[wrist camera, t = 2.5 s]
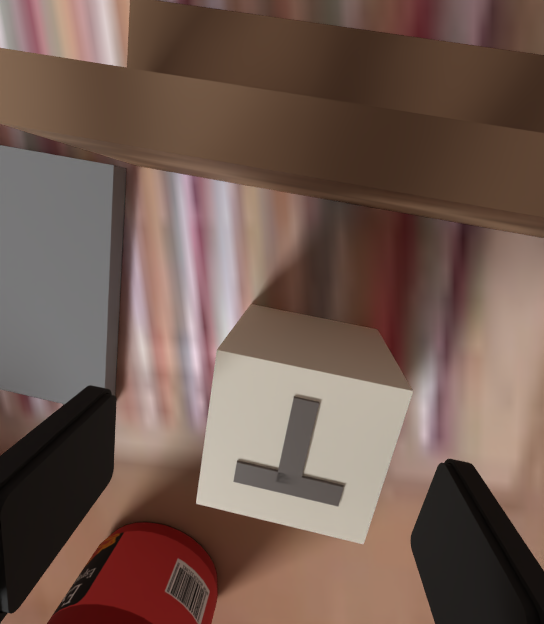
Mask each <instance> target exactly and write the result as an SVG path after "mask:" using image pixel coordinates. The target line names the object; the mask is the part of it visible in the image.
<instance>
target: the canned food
mask: <svg viewBox="0 0 544 624" xmlns="http://www.w3.org/2000/svg"><path fill="white" fill-rule="evenodd" d="M217 596H218V591H217V572H216V569H215V567H214V564H213V562H212V560H211V558H210V557H209V555H208V554H207V552H206V551H205V550H204V549H203V548H202V547H201V546H200V545H199V544H198V543H197V542H196V541H195V540H193V539H192V538H191V537H189V536H188V535H186V534H184V533H183V532H181V531H179V530H177V529H174V528H172V527H169V526H166V525H162V524H157V523H148V522H143V523H133V524H129V525H125V526H123V527H121V528H119V529H117V530H116V531H115V532H114V533H112V534H111V535H110V536H109V537H108V538H107V539H106V540H104V541H103V542H102V543H101V544H100V545H99V547H98V548H97V549H96V551H95V552H94V554H93V555H92V557H91V558H90V560H89V561H88V563H87V564H86V566H85V567H84V569H83V570H82V572H81V573H80V575H79V576H78V578H77V579H76V581H75V582H74V584H73V585H72V587H71V588H70V590H69V591H68V593H67V594H66V596H65V597H64V599H63V600H62V602H61V603H60V605H59V606H58V608H57V609H56V611H55V612H54V614H53V615H52V617H51V618H50V620H49V621H48V623H47V624H211V623H212V619H213V615H214V611H215V607H216V602H217Z"/></svg>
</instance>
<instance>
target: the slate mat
mask: <svg viewBox="0 0 544 624" xmlns="http://www.w3.org/2000/svg"><path fill="white" fill-rule="evenodd" d="M125 186H126V169H125V168H122V167H118V166H114V165H109V164H103V163H98V162H92V161H87V160H81V159H75V158H70V157H64V156H58V155H53V154H47V153H42V152H36V151H30V150H25V149H19V148H13V147H8V146H2V145H0V389H1V390H5V391H10V392H14V393H18V394H23V395H27V396H31V397H36V398H40V399H44V400H49V401H53V402H57V403H62V404H66V403H67V402H68V401H69V400H71V399H72V398H73V397H74V396H76V395H77V394H78V393H79V392H81V391H82V390H83V389H84V388H86V387H87V386H89V385H92V386H97V387H102V388H107V389H110V390H111V392H112V395H114V396H115V388H116V367H117V347H118V327H119V307H120V287H121V267H122V247H123V226H124V206H125Z"/></svg>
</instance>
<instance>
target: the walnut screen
mask: <svg viewBox="0 0 544 624" xmlns="http://www.w3.org/2000/svg"><path fill="white" fill-rule="evenodd" d="M0 124H2V125H5V126H9V127H12V128H15V129H18V130H22V131H25V132H28V133H31V134H35V135H38V136H41V137H45V138H48V139H51V140H54V141H58V142H61V143H64V144H67V145H71V146H74V147H77V148H80V149H84V150H87V151H90V152H94V153H97V154H100V155H103V156H107V157H110V158H113V159H116V160H120V161H123V162H126V163H129V164H133V165H136V166H141V167H146V168H152V169H158V170H163V171H169V172H175V173H180V174H186V175H192V176H197V177H203V178H208V179H214V180H220V181H225V182H231V183H237V184H242V185H248V186H254V187H259V188H265V189H271V190H276V191H282V192H288V193H293V194H299V195H304V196H310V197H316V198H321V199H327V200H333V201H338V202H344V203H350V204H355V205H361V206H367V207H372V208H378V209H384V210H389V211H395V212H400V213H406V214H412V215H417V216H423V217H429V218H434V219H440V220H446V221H451V222H457V223H463V224H468V225H474V226H480V227H485V228H491V229H496V230H502V231H508V232H513V233H519V234H525V235H530V236H536V237H542V238H544V55H538V54H531V53H524V52H517V51H510V50H503V49H496V48H489V47H482V46H475V45H467V44H460V43H453V42H446V41H439V40H432V39H425V38H418V37H411V36H404V35H397V34H390V33H383V32H376V31H369V30H361V29H354V28H347V27H340V26H333V25H326V24H319V23H312V22H305V21H298V20H291V19H284V18H277V17H270V16H263V15H255V14H248V13H241V12H234V11H227V10H220V9H213V8H206V7H199V6H192V5H185V4H178V3H171V2H164V1H157V0H130V14H129V36H128V57H127V68H125V67H119V66H112V65H106V64H100V63H93V62H87V61H80V60H74V59H68V58H61V57H55V56H48V55H42V54H36V53H29V52H23V51H17V50H10V49H4V48H0Z"/></svg>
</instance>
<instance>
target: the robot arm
mask: <svg viewBox="0 0 544 624" xmlns="http://www.w3.org/2000/svg"><path fill="white" fill-rule="evenodd" d="M115 420H116V396H114V395H112V392H111V390H110V389H107V388H102V387H97V386H92V385H89V386H87V387H86V388H84V389H83V390H82V391H81V392H79V393H78V394H77V395H76V396H74V397H73V398H72V399H71V400H69V401H68V402H67V403H66V404H64V405H63V406H62V407H61V408H59V409H58V410H57V411H56V412H54V413H53V414H52V415H51V416H49V417H48V418H47V419H46V420H44V421H43V422H42V423H41V424H40V425H38V426H37V427H36V428H35V429H33V430H32V431H31V432H30V433H28V434H27V435H26V436H25V437H23V438H22V439H21V440H20V441H18V442H17V443H16V444H15V445H13V446H12V447H11V448H10V449H8V450H7V451H6V452H5V453H3V454H2V455H1V456H0V623H1V621H2V620H3V619H4V617H5V616H6V614H7V613H11V614H12V613H14V612H15V611H16V610H17V609H18V608H19V607H20V606H21V604H22V603H23V602H24V600H25V599H26V597H27V596H28V595H29V593H30V592H31V591H32V589H33V588H34V586H35V585H36V584H37V582H38V581H39V579H40V578H41V577H42V575H43V574H44V572H45V571H46V570H47V568H48V567H49V566H50V564H51V563H52V561H53V560H54V559H55V557H56V556H57V554H58V553H59V552H60V550H61V549H62V547H63V546H64V545H65V543H66V542H67V541H68V539H69V538H70V536H71V535H72V534H73V532H74V531H75V529H76V528H77V527H78V525H79V524H80V522H81V521H82V520H83V518H84V517H85V516H86V514H87V513H88V511H89V510H90V509H91V507H92V506H93V504H94V503H95V502H96V500H97V499H98V497H99V496H100V495H101V493H102V492H103V490H104V489H105V488H106V486H107V485H108V483H109V482H110V480H111V477H112V474H113V469H114V445H115ZM411 548H412V552H413V555H414V558H415V561H416V564H417V568H418V571H419V574H420V577H421V580H422V583H423V587H424V590H425V593H426V596H427V599H428V602H429V605H430V609H431V612H432V615H433V618H434V621H435V624H544V571H543V569H542V568H541V566H540V565H539V563H538V562H537V560H536V559H535V557H534V556H533V554H532V553H531V551H530V550H529V548H528V547H527V545H526V544H525V542H524V541H523V539H522V538H521V536H520V535H519V533H518V532H517V530H516V529H515V527H514V526H513V524H512V523H511V521H510V520H509V518H508V517H507V515H506V514H505V512H504V511H503V509H502V508H501V506H500V505H499V503H498V502H497V500H496V499H495V497H494V496H493V494H492V493H491V491H490V490H489V488H488V487H487V485H486V484H485V482H484V481H483V479H482V478H481V476H480V475H479V473H478V472H477V470H476V469H475V467H474V466H473V465H472V464H471V463H468V462H463V461H458V460H453V459H447V460H446V461H445V463H440V464H439V465H438V467H437V470H436V472H435V475H434V477H433V480H432V483H431V485H430V488H429V490H428V493H427V495H426V498H425V501H424V503H423V506H422V508H421V511H420V513H419V516H418V519H417V521H416V524H415V526H414V529H413V531H412V534H411Z"/></svg>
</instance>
